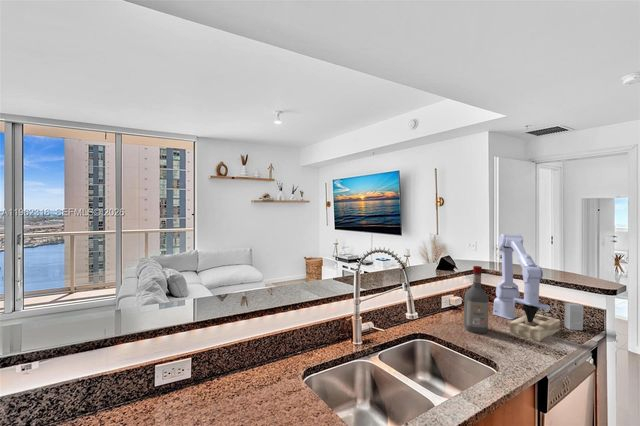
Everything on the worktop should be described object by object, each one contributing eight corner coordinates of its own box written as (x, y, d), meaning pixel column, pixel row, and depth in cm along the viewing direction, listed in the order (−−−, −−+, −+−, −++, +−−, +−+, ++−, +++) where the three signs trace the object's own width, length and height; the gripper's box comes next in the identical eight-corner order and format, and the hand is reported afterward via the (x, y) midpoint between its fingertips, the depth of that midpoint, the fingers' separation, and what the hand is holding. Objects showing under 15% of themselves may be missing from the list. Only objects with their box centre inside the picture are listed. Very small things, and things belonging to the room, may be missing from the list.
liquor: (488, 334, 144) (491, 269, 143) (467, 332, 146) (469, 267, 145) (482, 326, 153) (484, 265, 152) (462, 324, 154) (464, 264, 154)
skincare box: (576, 327, 154) (577, 303, 154) (582, 330, 150) (584, 305, 150) (563, 326, 155) (564, 302, 155) (569, 330, 151) (570, 305, 150)
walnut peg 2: (533, 327, 152) (534, 317, 152) (537, 325, 154) (537, 315, 154) (543, 330, 149) (543, 320, 149) (546, 328, 151) (547, 318, 151)
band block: (509, 332, 146) (510, 321, 146) (531, 322, 160) (531, 312, 160) (539, 342, 136) (539, 330, 136) (559, 330, 150) (560, 319, 150)
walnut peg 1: (523, 331, 145) (523, 321, 145) (526, 329, 147) (527, 319, 147) (532, 334, 142) (533, 324, 142) (536, 332, 144) (536, 322, 144)
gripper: (510, 290, 148) (509, 318, 148) (546, 297, 136) (545, 328, 136) (517, 287, 152) (516, 315, 152) (552, 295, 140) (551, 325, 140)
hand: (530, 321), depth 144 cm, fingers closed, pressing on walnut peg 1
